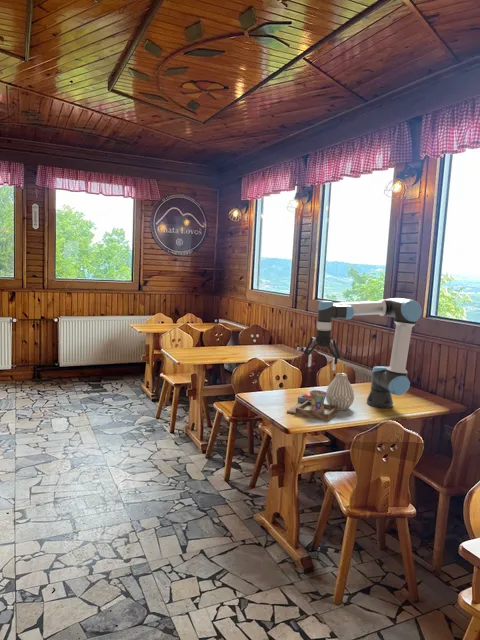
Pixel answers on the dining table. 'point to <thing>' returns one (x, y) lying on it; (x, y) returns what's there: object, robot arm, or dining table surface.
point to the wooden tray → (304, 411)
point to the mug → (317, 400)
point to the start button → (307, 396)
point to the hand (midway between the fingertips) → (321, 368)
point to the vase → (340, 392)
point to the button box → (303, 399)
